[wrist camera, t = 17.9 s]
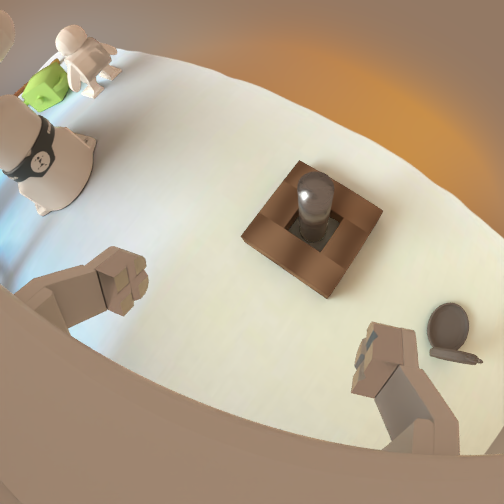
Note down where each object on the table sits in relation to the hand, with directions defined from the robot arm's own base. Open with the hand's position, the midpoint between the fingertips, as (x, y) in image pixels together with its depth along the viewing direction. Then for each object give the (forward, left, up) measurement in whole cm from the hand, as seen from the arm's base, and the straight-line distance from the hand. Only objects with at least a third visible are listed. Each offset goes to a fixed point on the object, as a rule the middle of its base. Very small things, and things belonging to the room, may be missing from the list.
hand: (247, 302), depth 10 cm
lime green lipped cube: (-82, +8, -28) cm, 87 cm away
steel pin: (-4, +12, -27) cm, 30 cm away
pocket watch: (+19, +10, -28) cm, 35 cm away
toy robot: (-64, +18, -28) cm, 72 cm away
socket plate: (-4, +12, -27) cm, 30 cm away
